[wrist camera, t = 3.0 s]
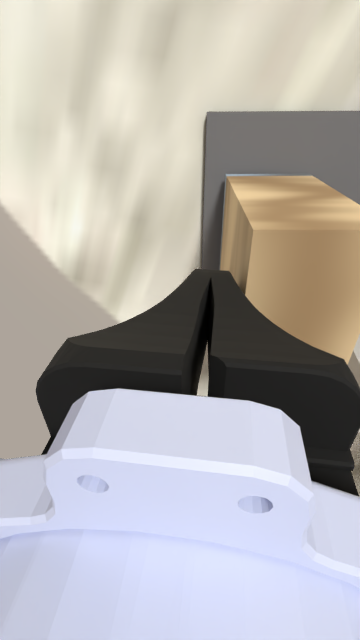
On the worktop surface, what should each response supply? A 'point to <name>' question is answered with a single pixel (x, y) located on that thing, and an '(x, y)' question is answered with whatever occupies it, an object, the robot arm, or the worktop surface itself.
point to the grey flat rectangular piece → (276, 157)
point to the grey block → (355, 362)
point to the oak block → (295, 255)
